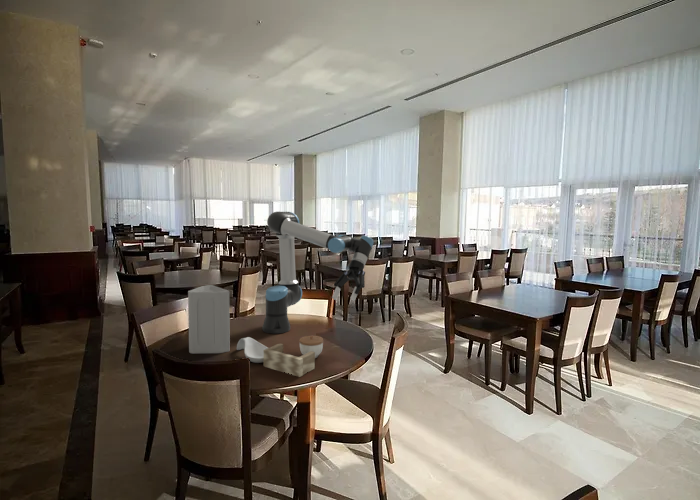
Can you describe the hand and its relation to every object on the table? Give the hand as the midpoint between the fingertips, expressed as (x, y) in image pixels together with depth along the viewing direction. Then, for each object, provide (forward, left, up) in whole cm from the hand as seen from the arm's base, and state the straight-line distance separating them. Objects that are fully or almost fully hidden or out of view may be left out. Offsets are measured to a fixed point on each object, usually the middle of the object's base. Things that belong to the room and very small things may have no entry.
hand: (342, 299), depth 190 cm
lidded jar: (-2, -24, -22) cm, 33 cm away
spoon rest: (-23, -39, -22) cm, 50 cm away
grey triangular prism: (-48, -44, -22) cm, 68 cm away
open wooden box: (-2, -39, -22) cm, 45 cm away
